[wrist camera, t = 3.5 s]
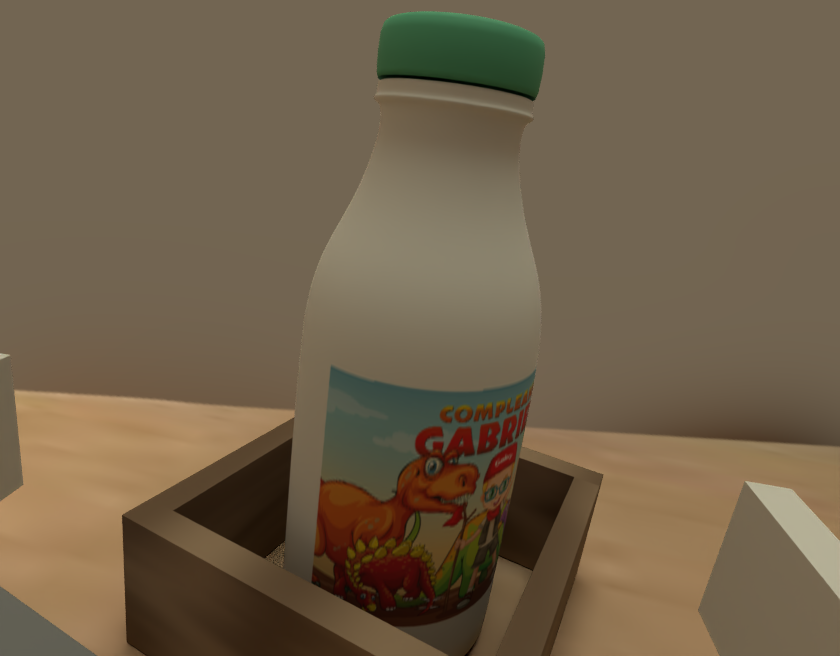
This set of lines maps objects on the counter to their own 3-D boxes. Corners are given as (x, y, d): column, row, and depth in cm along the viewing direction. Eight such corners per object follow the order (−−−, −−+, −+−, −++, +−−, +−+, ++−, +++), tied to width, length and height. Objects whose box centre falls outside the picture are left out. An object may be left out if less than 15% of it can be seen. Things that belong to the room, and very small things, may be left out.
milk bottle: (234, 625, 20) (259, -18, 14) (353, 513, 26) (406, 49, 20) (430, 743, 17) (576, -13, 11) (508, 583, 23) (626, 64, 17)
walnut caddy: (576, 572, 25) (603, 474, 23) (476, 879, 14) (514, 733, 12) (339, 473, 29) (348, 386, 28) (126, 641, 19) (121, 515, 17)
